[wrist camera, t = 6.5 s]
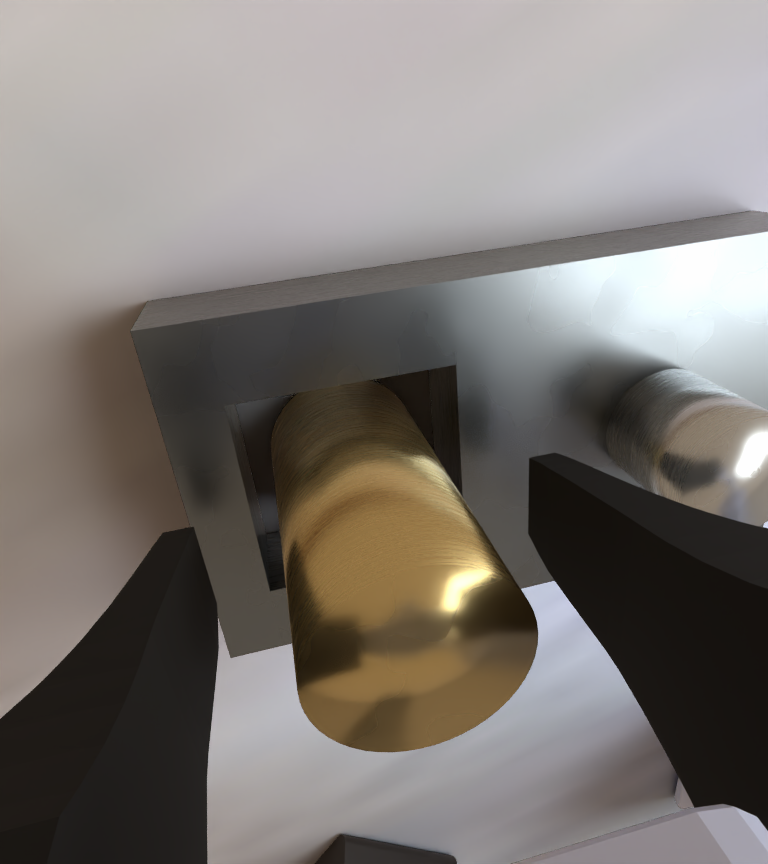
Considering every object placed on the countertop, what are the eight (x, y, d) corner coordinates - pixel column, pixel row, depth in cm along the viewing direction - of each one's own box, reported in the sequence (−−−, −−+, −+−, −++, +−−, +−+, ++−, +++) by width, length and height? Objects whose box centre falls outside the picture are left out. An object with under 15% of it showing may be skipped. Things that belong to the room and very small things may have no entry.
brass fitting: (420, 486, 18) (540, 712, 11) (288, 519, 17) (324, 778, 10) (403, 362, 16) (535, 536, 9) (254, 394, 15) (270, 607, 8)
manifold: (705, 488, 20) (851, 597, 15) (231, 594, 18) (228, 761, 13) (753, 210, 16) (972, 239, 11) (147, 300, 14) (98, 385, 9)
